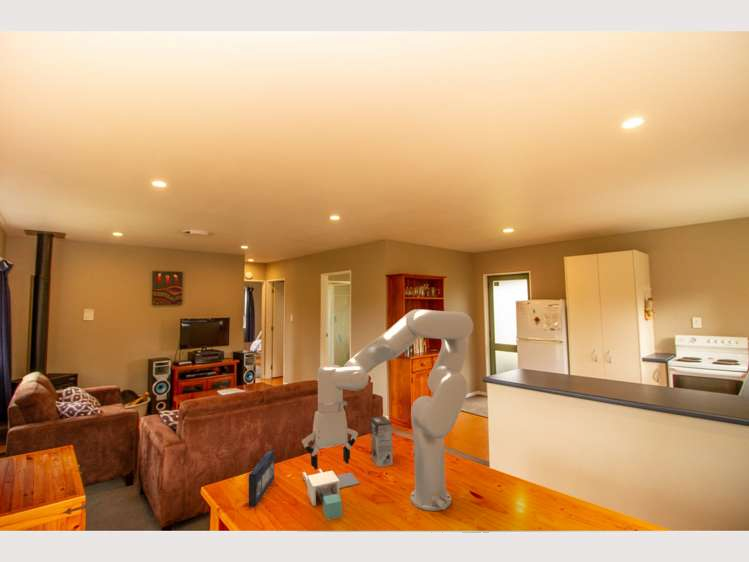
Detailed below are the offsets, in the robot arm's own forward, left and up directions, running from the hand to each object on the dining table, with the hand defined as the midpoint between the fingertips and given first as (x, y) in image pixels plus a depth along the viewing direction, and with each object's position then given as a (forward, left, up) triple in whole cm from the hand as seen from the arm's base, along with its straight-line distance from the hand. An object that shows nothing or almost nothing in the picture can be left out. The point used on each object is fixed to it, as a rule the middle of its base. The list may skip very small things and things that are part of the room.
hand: (330, 464), depth 108 cm
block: (-1, 0, -14) cm, 14 cm away
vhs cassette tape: (+22, +17, -14) cm, 32 cm away
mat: (+17, -9, -14) cm, 24 cm away
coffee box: (+26, -28, -14) cm, 41 cm away
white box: (+16, 0, -14) cm, 21 cm away
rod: (+8, 0, -14) cm, 17 cm away
